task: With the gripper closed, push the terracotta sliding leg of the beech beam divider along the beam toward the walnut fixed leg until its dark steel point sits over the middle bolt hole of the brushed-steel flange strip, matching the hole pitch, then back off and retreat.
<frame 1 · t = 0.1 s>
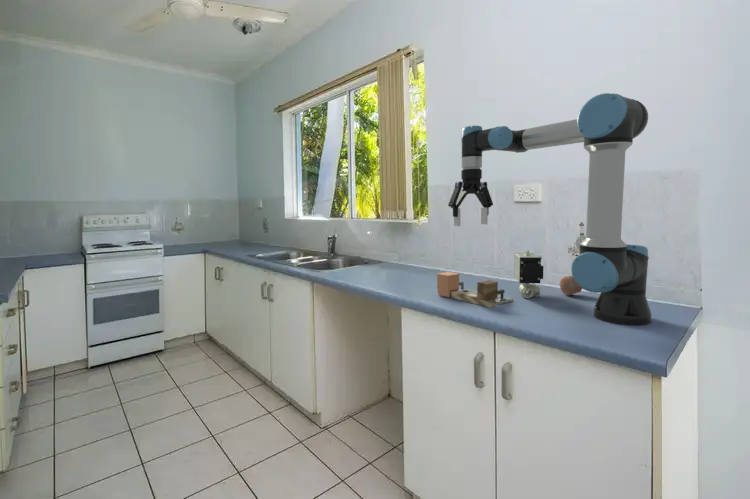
hand: (470, 225, 153), 28 cm above the worktop, fingers open, 13 cm apart
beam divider: (466, 300, 149), on the worktop
ball valve: (528, 296, 154), on the worktop
sliding leg: (453, 283, 158), point 5 cm above the worktop, slide at 0.0 cm
tan rounded lump: (570, 295, 154), on the worktop
flange strip: (481, 297, 153), on the worktop
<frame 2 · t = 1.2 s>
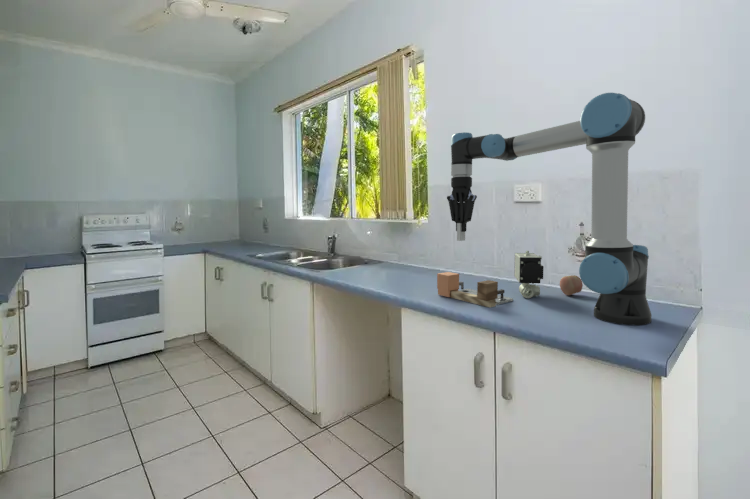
hand: (461, 240, 149), 22 cm above the worktop, fingers closed
nothing on the worktop moved.
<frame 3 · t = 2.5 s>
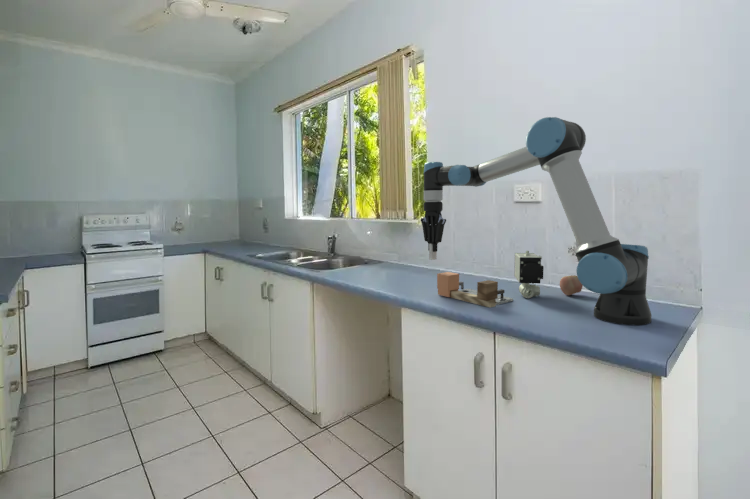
hand: (432, 259, 163), 14 cm above the worktop, fingers closed
nothing on the worktop moved.
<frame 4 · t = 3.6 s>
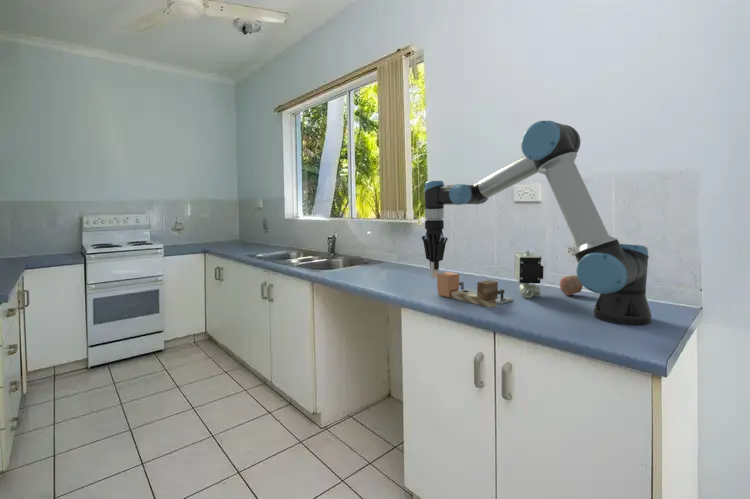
hand: (434, 277, 163), 6 cm above the worktop, fingers closed
nothing on the worktop moved.
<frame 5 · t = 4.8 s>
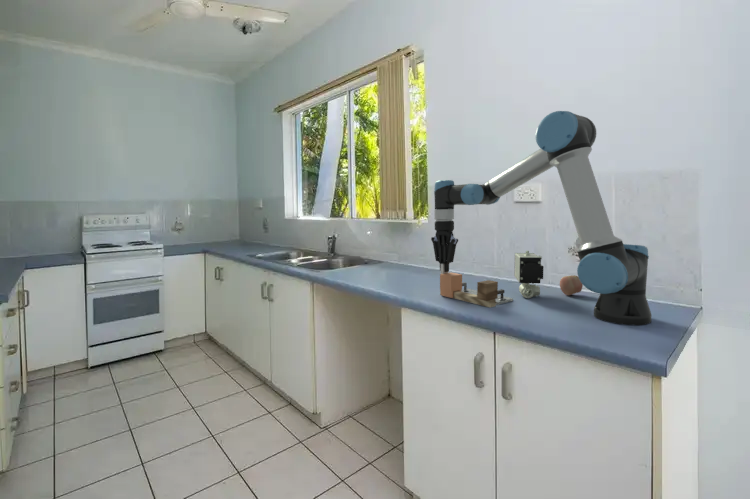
hand: (444, 279, 158), 6 cm above the worktop, fingers closed
sliding leg: (456, 284, 157), point 5 cm above the worktop, slide at 1.6 cm, touching gripper
everything else where it was.
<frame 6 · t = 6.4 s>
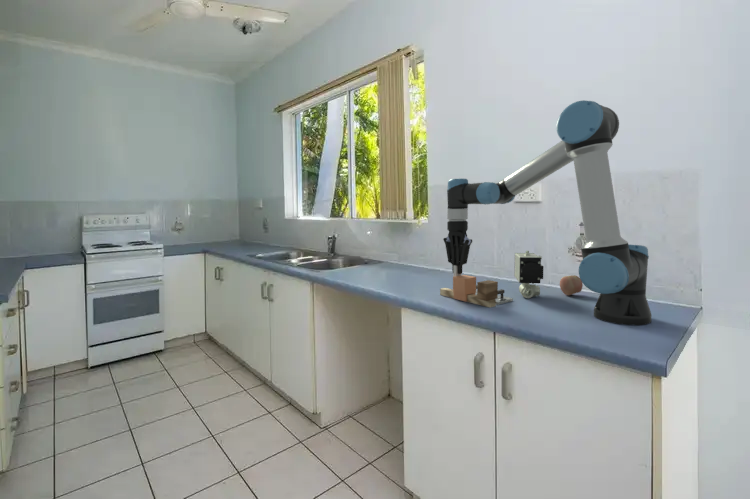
hand: (457, 281, 152), 6 cm above the worktop, fingers closed
sliding leg: (469, 287, 151), point 5 cm above the worktop, slide at 8.6 cm, touching gripper
everything else where it was.
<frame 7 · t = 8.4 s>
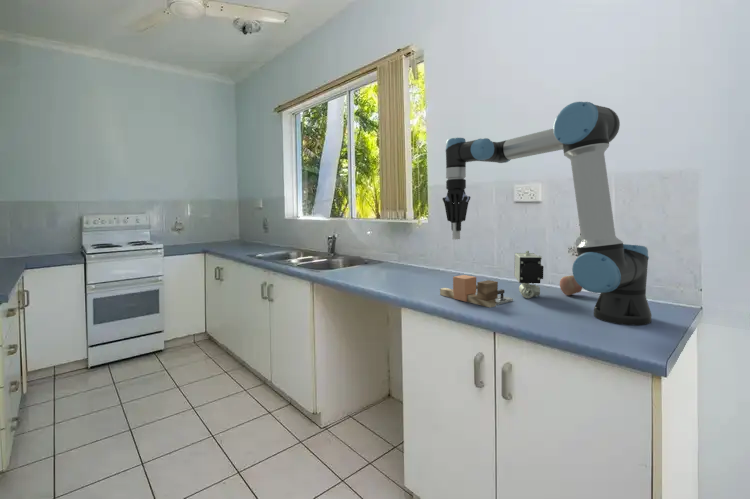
hand: (456, 239, 158), 22 cm above the worktop, fingers closed
sliding leg: (469, 287, 151), point 5 cm above the worktop, slide at 8.7 cm
everything else where it was.
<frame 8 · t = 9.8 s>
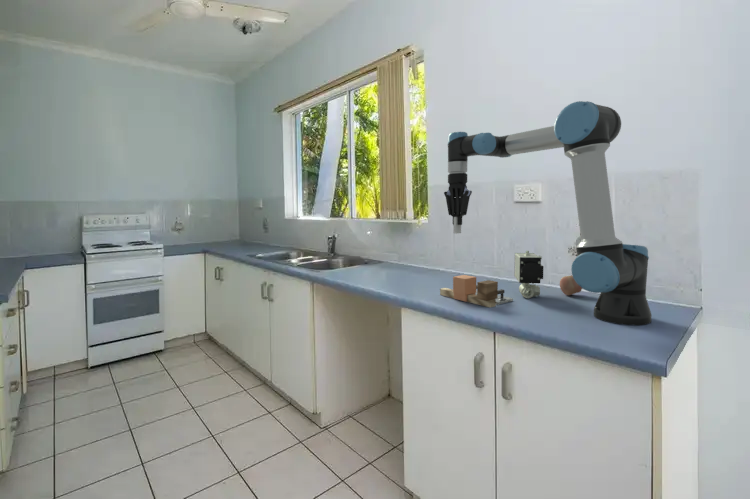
hand: (457, 233, 158), 24 cm above the worktop, fingers closed
nothing on the worktop moved.
at the end: sliding leg slide at 8.7 cm; ball valve moved 0.2 cm from its start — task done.
